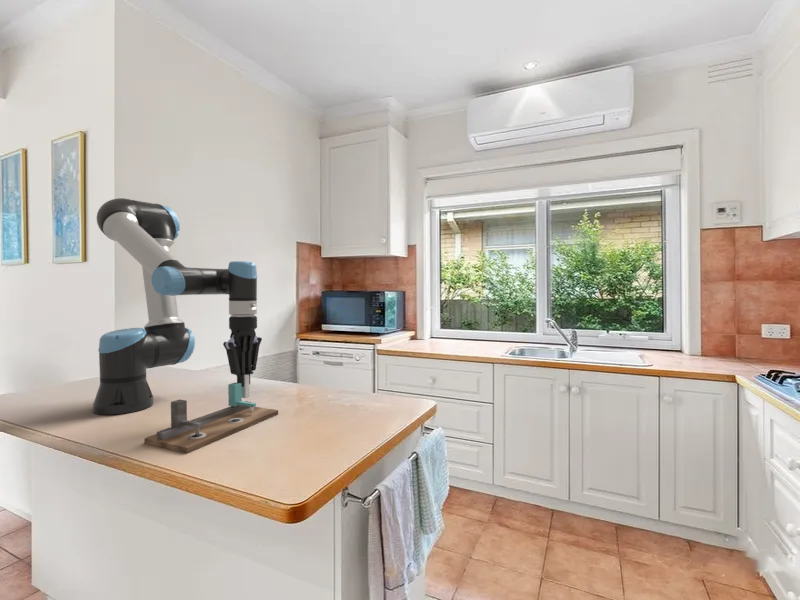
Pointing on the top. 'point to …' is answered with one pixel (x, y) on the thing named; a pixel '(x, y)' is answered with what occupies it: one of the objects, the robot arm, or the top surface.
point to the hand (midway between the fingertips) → (243, 396)
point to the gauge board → (205, 426)
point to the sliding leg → (237, 396)
